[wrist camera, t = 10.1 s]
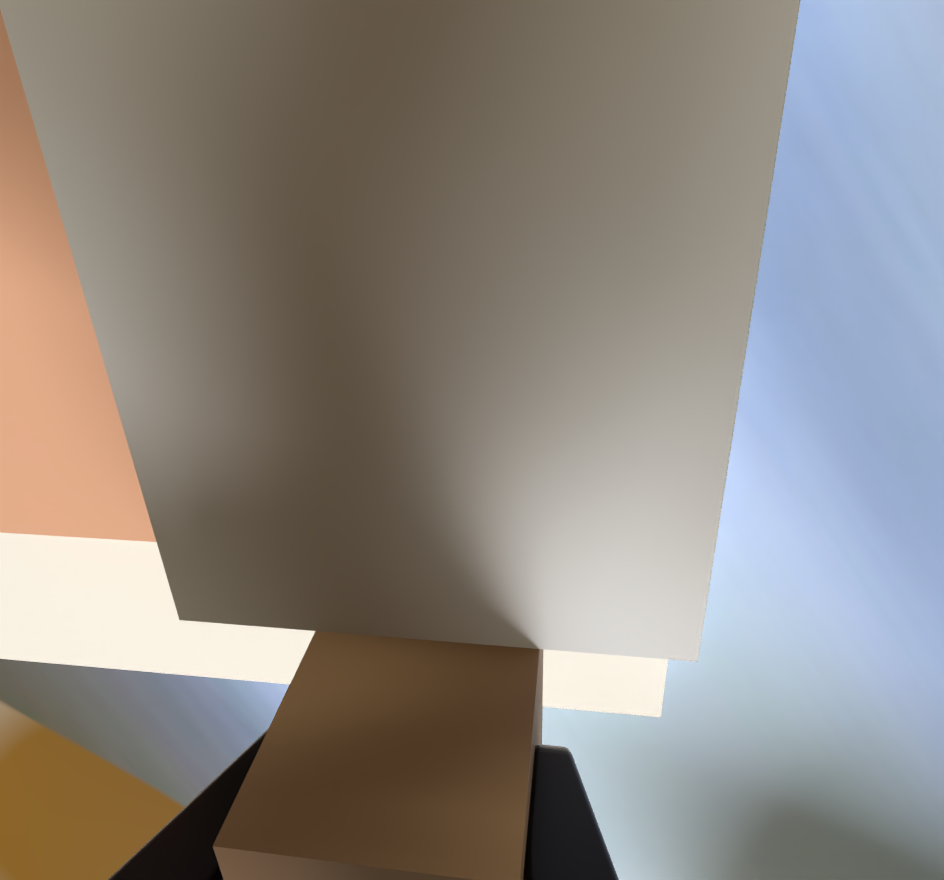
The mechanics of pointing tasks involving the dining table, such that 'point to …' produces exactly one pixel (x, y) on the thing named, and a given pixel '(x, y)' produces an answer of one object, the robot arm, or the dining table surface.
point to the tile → (52, 361)
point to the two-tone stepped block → (417, 361)
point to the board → (217, 628)
